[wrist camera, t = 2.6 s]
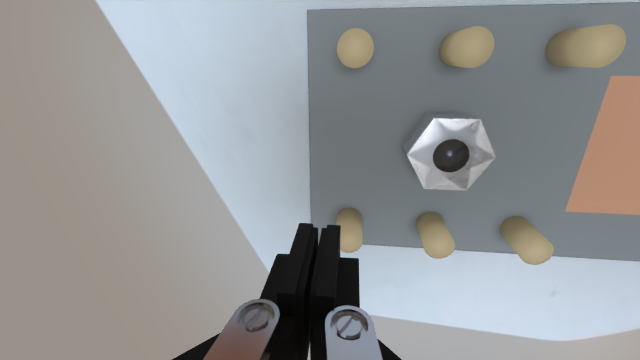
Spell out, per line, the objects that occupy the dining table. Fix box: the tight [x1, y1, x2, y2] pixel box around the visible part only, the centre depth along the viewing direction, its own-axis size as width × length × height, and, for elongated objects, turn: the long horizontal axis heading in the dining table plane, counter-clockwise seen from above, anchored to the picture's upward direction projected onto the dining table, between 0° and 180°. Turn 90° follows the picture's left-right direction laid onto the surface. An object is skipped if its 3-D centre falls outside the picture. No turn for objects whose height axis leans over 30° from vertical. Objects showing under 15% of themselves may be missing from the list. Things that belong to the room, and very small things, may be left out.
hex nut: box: [402, 112, 496, 191], centre depth 26 cm, size 7×6×3 cm
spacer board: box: [307, 2, 640, 265], centre depth 24 cm, size 39×22×4 cm, turn 90°
